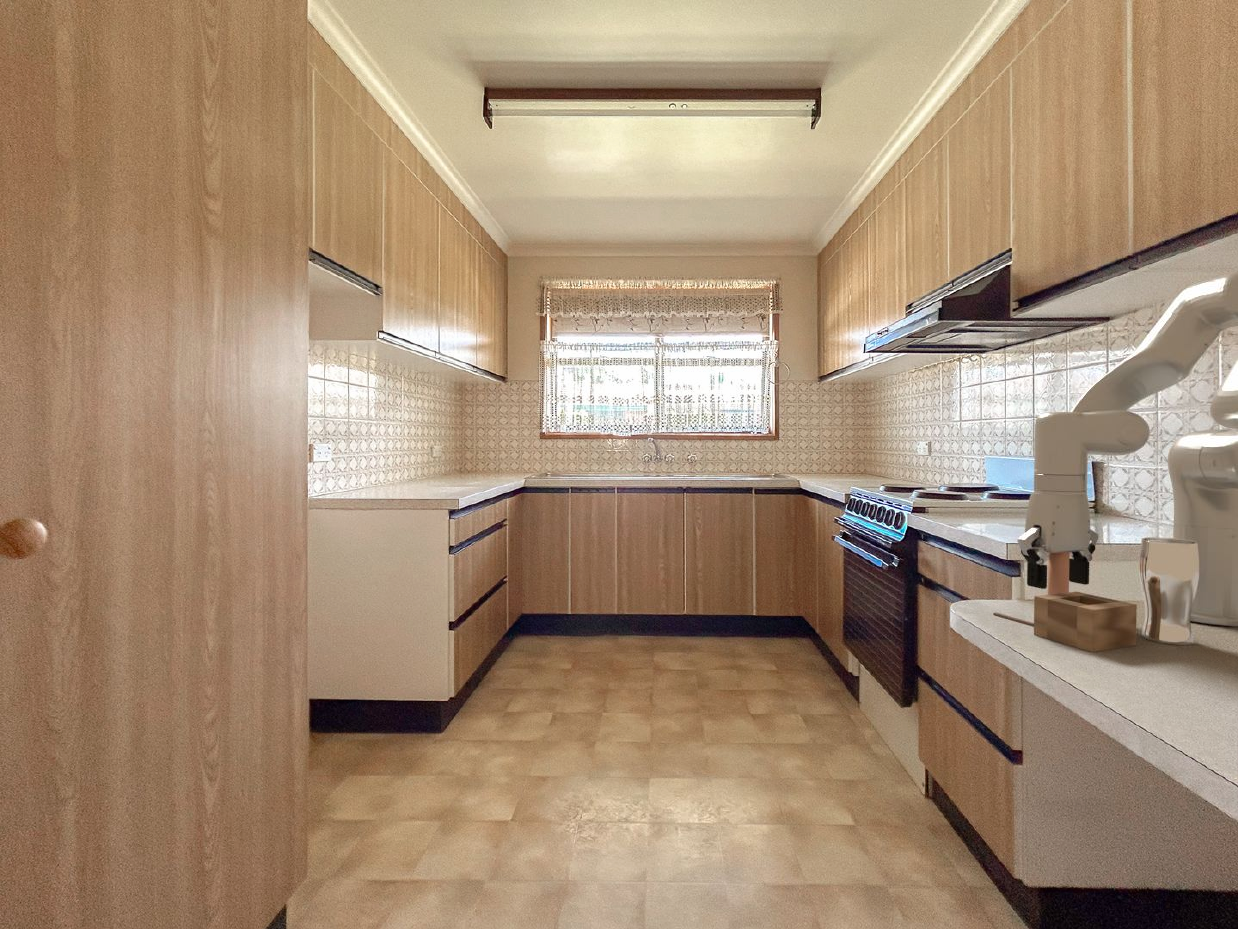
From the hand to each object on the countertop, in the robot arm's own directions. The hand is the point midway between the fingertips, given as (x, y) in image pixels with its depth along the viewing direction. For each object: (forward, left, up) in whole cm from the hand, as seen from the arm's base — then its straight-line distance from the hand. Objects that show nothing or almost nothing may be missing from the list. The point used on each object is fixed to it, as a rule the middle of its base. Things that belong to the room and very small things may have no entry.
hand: (1057, 585), depth 113 cm
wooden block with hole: (+9, +11, -5) cm, 15 cm away
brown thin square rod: (+9, +1, -5) cm, 10 cm away
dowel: (0, 0, -5) cm, 5 cm away
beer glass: (-3, +15, -6) cm, 16 cm away
